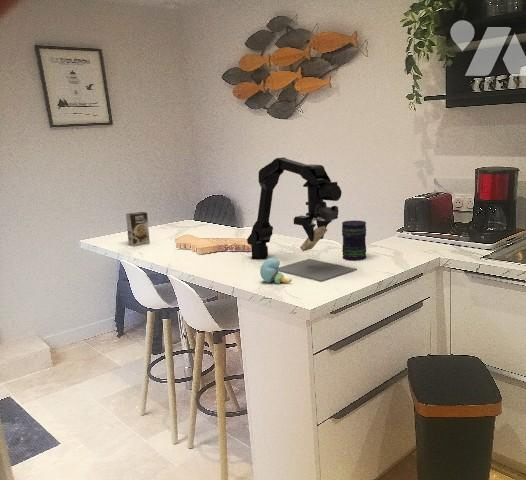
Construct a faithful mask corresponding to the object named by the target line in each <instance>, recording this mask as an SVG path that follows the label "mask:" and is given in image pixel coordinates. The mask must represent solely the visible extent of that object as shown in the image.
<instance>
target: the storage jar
mask: <svg viewBox="0 0 526 480" xmlns="http://www.w3.org/2000/svg"><path fill="white" fill-rule="evenodd" d="M341 225H342V226H341V232H342V234H341V235H342V245H341V246H342V248H341V249H342V260H344V259H345V260H344V261H351V262H359V261H364V260H366V259H367V244H366V236H367V226H366V225H367V222H366V221H365V220H364V221H363V220H357V219H356V220H345V221H342V222H341Z"/></svg>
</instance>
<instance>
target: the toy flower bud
mask: <svg viewBox="0 0 526 480" xmlns="http://www.w3.org/2000/svg"><path fill="white" fill-rule="evenodd" d="M280 264H281V263H280V260H279V259H278V258H274V257H269V258H266V259H265V260H264V261H263V263H262V264H261V266H260V270H259V275H260V277H261V279H262V280H263V281H264V282H265V283H267V284H270V283H271V282H273V281H274V283H276V284H278V285H279V284H280V283H292V280H293V279H292V278H290V279H287V278H286V277H285V276H284V274H283V272H280V271H279V267H280Z"/></svg>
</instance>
